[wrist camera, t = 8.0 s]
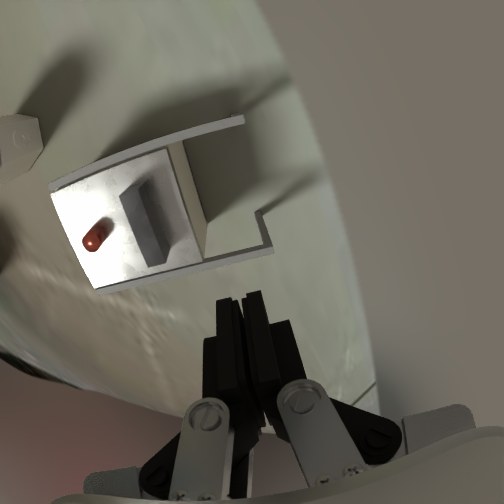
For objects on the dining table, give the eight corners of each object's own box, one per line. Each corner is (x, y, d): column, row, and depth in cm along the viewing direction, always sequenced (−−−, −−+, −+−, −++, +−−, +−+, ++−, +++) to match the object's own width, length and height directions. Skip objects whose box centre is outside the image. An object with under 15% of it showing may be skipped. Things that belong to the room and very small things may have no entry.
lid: (55, 191, 24) (36, 204, 21) (168, 147, 24) (159, 153, 20) (97, 283, 29) (85, 303, 26) (203, 256, 29) (201, 277, 26)
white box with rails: (74, 168, 31) (34, 191, 23) (237, 112, 31) (243, 114, 22) (110, 256, 38) (86, 298, 29) (261, 216, 38) (274, 253, 29)
